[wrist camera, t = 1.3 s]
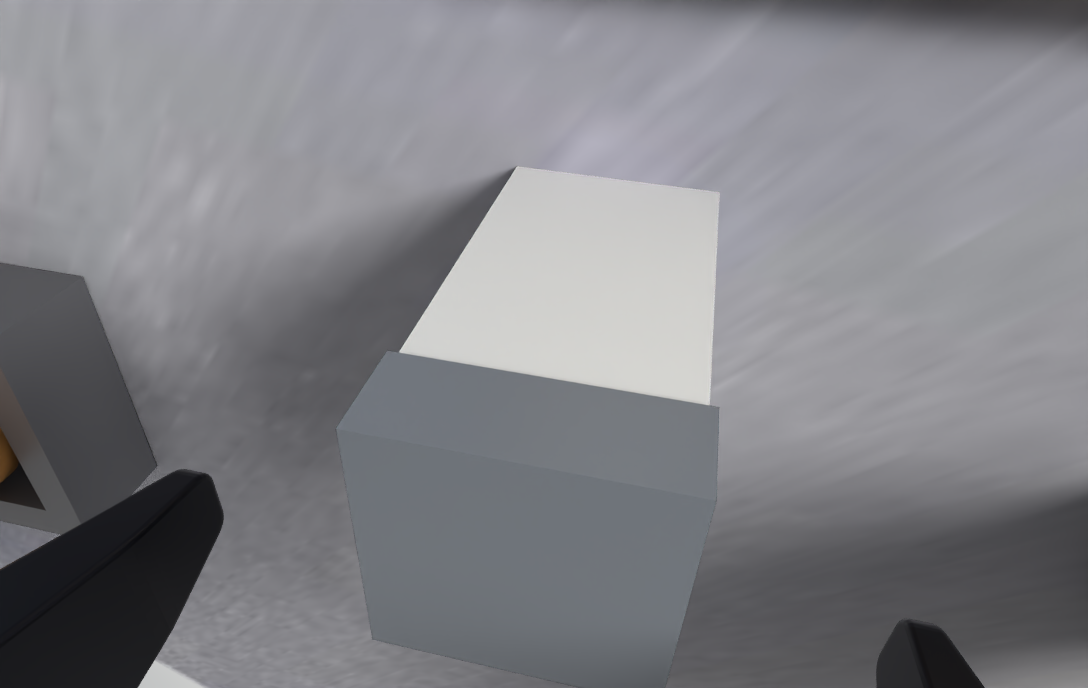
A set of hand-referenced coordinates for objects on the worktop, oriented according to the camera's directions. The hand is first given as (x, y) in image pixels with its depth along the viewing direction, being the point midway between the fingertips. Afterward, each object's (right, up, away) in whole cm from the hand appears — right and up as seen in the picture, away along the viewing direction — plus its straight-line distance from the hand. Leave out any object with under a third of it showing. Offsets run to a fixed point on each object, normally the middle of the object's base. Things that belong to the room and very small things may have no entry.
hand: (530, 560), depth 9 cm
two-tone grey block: (+1, +4, +6) cm, 8 cm away
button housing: (-15, +2, +12) cm, 20 cm away
